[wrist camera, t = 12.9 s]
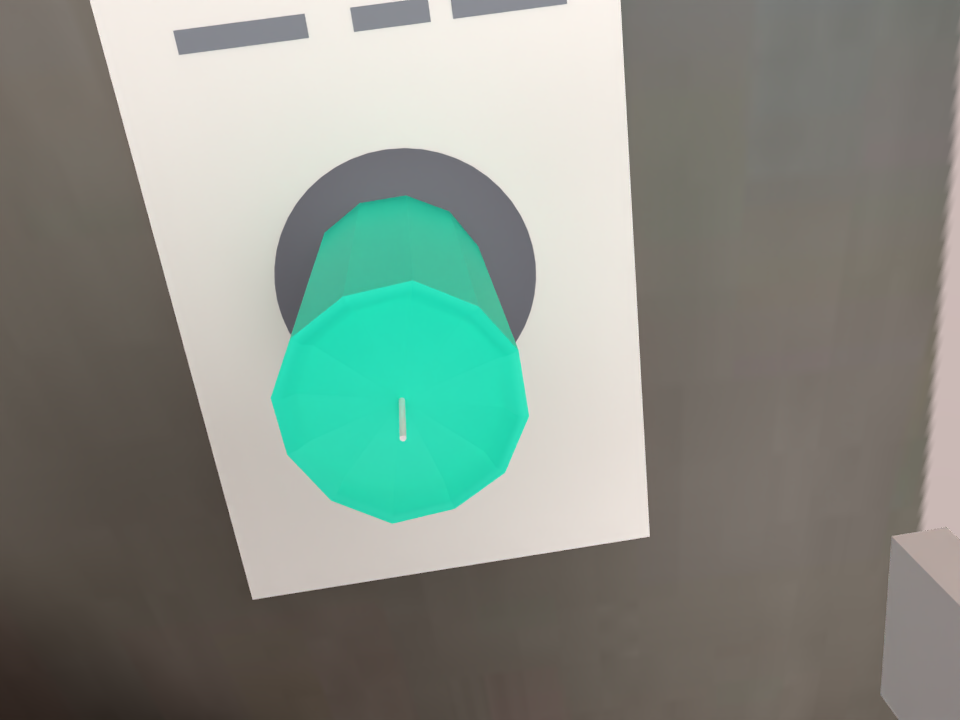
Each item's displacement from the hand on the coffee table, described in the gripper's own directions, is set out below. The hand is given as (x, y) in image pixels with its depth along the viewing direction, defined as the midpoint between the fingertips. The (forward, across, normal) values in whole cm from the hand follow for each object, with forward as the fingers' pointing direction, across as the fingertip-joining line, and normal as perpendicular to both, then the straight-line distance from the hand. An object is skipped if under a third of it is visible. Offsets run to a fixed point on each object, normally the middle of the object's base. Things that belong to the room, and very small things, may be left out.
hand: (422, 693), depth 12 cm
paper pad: (+20, 0, 0) cm, 20 cm away
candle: (+20, 0, 0) cm, 20 cm away
